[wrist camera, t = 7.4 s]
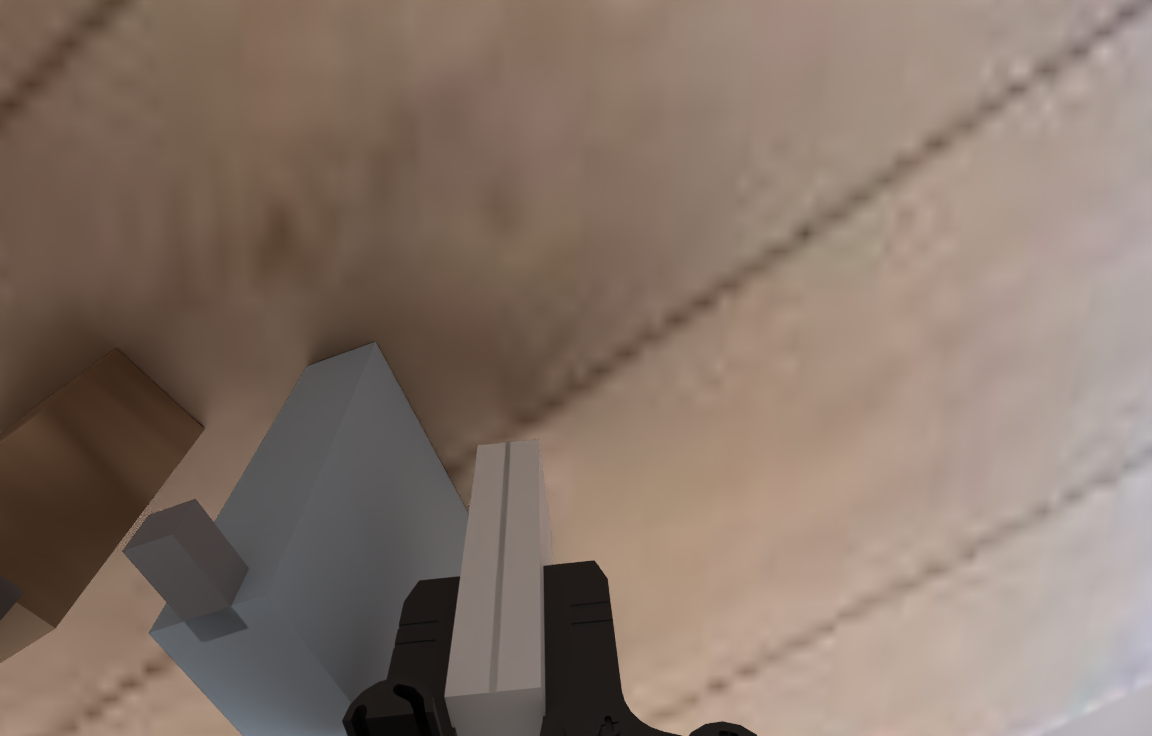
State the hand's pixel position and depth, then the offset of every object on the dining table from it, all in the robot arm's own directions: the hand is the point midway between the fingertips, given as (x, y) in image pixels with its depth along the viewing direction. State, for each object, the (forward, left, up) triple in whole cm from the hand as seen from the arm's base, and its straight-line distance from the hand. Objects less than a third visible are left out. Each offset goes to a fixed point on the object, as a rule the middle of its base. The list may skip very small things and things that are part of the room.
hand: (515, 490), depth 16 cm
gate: (+1, -4, -4) cm, 6 cm away
